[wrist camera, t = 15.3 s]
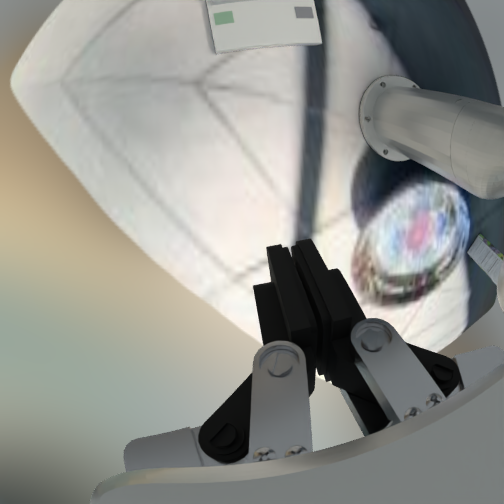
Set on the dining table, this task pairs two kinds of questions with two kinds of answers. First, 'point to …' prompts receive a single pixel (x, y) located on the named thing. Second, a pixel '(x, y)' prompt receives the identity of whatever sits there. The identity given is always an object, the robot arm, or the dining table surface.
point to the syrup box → (486, 257)
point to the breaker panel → (262, 24)
